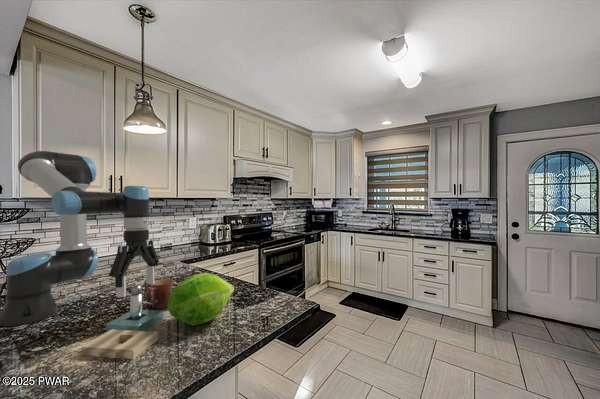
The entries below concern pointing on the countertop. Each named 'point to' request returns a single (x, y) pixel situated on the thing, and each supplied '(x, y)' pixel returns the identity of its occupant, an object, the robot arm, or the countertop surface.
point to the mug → (160, 293)
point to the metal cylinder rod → (136, 302)
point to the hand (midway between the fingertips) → (136, 289)
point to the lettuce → (199, 298)
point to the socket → (136, 321)
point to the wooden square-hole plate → (112, 348)
